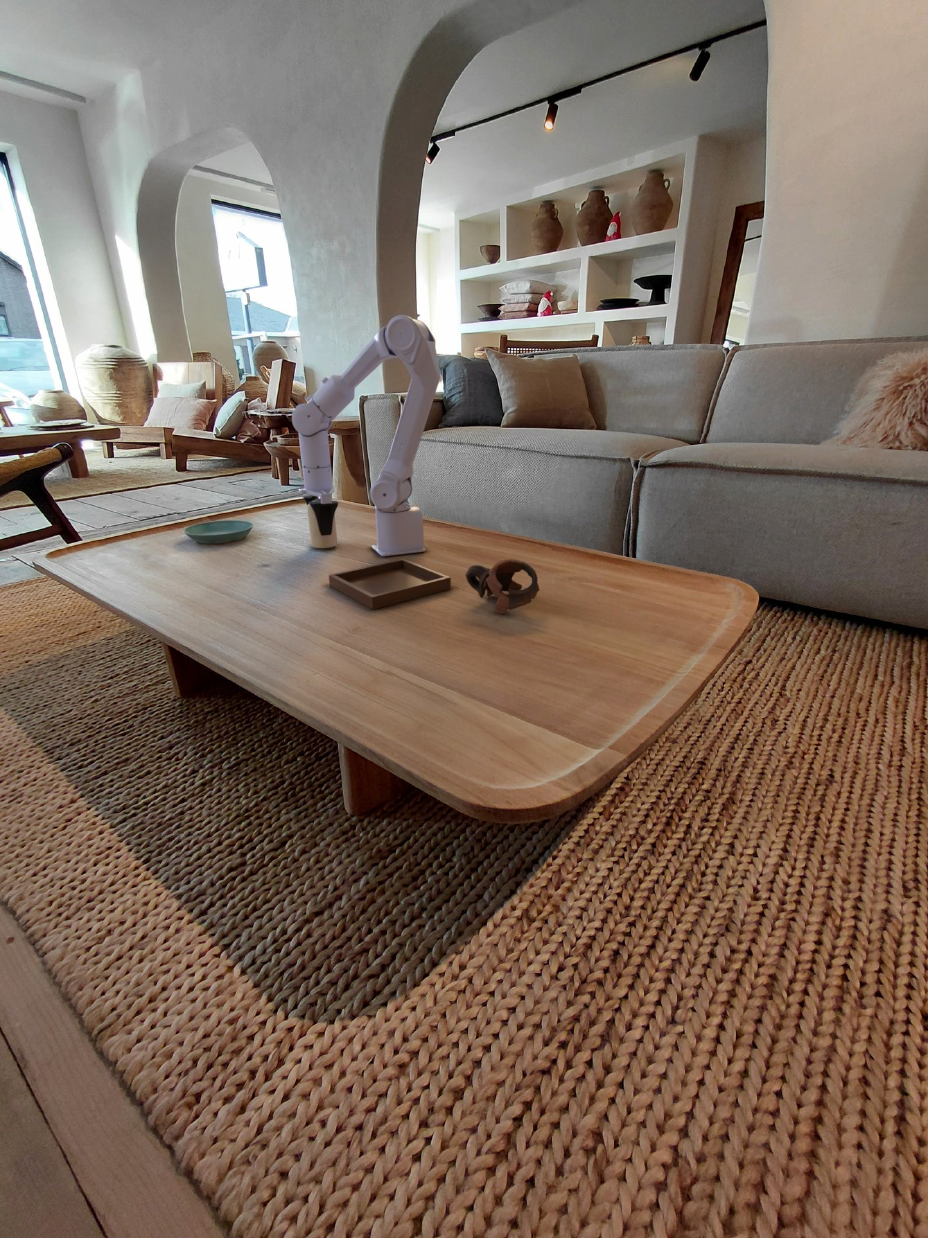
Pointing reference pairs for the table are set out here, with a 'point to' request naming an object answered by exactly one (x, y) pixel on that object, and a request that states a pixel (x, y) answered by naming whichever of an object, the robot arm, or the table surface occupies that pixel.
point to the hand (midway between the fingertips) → (323, 531)
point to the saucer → (219, 531)
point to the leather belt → (503, 583)
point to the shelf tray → (389, 583)
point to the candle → (315, 535)
